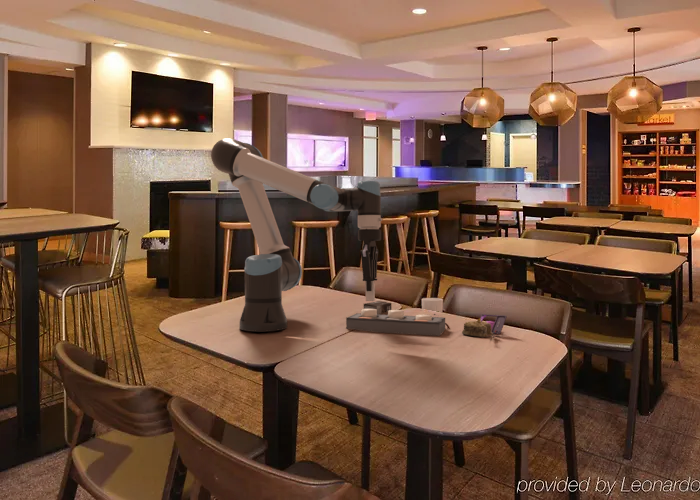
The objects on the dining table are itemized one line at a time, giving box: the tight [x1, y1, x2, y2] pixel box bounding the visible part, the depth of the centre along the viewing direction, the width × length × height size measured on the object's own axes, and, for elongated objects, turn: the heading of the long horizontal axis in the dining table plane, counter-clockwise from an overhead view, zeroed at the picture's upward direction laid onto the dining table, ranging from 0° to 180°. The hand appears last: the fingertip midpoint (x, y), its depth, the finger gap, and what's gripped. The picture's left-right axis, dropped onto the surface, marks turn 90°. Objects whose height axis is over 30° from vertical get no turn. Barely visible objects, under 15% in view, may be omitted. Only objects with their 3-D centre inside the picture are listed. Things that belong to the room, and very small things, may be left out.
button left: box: [361, 308, 377, 318], centre depth 181 cm, size 5×5×3 cm
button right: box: [415, 314, 433, 321], centre depth 175 cm, size 5×5×3 cm
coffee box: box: [363, 300, 392, 314], centre depth 200 cm, size 9×6×16 cm
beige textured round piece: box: [461, 318, 496, 338], centre depth 170 cm, size 10×10×5 cm
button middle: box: [387, 309, 405, 320], centre depth 178 cm, size 5×5×3 cm
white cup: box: [421, 297, 444, 313], centre depth 206 cm, size 8×8×10 cm
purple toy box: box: [480, 313, 508, 335], centre depth 177 cm, size 7×5×9 cm
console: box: [345, 312, 446, 337], centre depth 178 cm, size 30×11×4 cm, turn 71°
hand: (370, 300), depth 181 cm, fingers closed
